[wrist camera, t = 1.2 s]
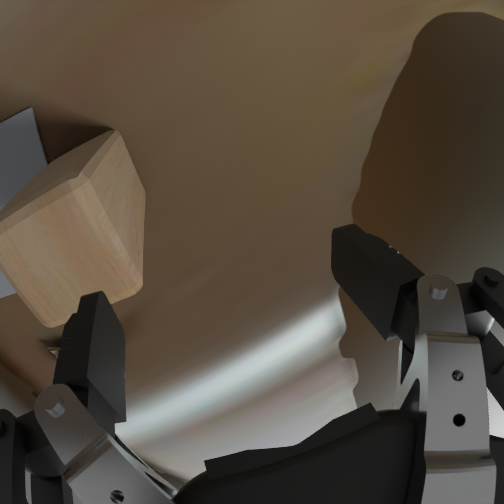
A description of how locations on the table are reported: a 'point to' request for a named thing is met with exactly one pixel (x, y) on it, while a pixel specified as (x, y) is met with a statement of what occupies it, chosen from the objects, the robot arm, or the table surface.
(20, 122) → the mat
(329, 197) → the table surface
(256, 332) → the table surface
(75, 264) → the wooden block
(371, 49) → the table surface
